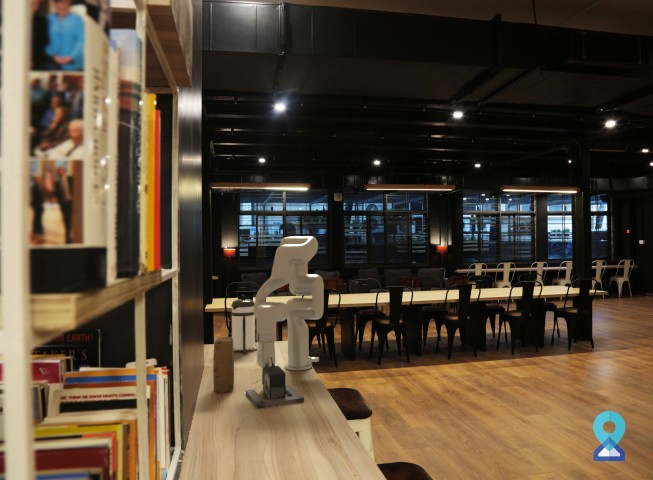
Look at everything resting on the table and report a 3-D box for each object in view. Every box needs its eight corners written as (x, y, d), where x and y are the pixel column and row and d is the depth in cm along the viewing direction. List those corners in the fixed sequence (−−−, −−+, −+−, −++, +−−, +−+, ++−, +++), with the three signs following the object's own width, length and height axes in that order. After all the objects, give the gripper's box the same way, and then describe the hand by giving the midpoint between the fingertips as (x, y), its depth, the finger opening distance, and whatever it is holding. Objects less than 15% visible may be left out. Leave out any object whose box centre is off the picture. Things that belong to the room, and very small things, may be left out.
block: (232, 393, 169) (232, 340, 169) (212, 394, 168) (211, 341, 169) (235, 385, 180) (235, 335, 180) (216, 385, 179) (216, 335, 179)
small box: (261, 395, 167) (261, 366, 167) (278, 393, 170) (278, 365, 170) (268, 404, 157) (268, 374, 158) (286, 401, 160) (286, 372, 160)
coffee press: (259, 353, 234) (259, 295, 235) (228, 354, 232) (228, 296, 232) (259, 346, 251) (259, 292, 252) (230, 347, 249) (229, 293, 249)
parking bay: (289, 388, 175) (289, 384, 175) (304, 401, 159) (304, 397, 159) (246, 394, 168) (246, 390, 168) (257, 409, 153) (257, 404, 153)
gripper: (252, 334, 179) (252, 380, 179) (262, 341, 165) (262, 391, 165) (270, 333, 182) (270, 378, 182) (281, 339, 168) (282, 389, 168)
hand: (266, 384), depth 173 cm, fingers closed
